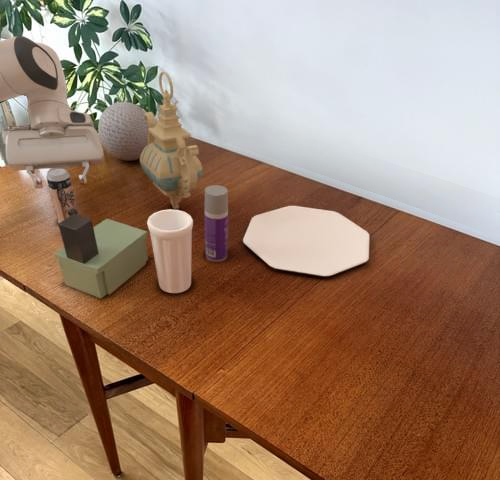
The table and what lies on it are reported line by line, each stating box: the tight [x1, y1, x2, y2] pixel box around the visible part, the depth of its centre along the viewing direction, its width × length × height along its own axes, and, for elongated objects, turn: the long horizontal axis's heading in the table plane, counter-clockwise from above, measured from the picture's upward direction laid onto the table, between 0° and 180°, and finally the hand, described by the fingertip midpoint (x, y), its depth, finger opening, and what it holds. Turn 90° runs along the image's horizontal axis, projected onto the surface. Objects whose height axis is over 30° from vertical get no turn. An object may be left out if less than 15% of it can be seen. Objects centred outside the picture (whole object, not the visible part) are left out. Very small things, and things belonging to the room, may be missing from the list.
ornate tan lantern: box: [139, 71, 204, 210], centre depth 103 cm, size 24×12×30 cm, turn 33°
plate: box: [242, 205, 371, 278], centre depth 104 cm, size 28×28×2 cm
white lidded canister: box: [46, 167, 80, 224], centre depth 103 cm, size 5×5×12 cm
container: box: [204, 184, 229, 263], centre depth 94 cm, size 5×5×15 cm
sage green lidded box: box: [53, 218, 149, 299], centre depth 91 cm, size 10×15×7 cm, turn 154°
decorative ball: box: [97, 101, 149, 162], centre depth 129 cm, size 15×15×15 cm
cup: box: [146, 208, 194, 294], centre depth 86 cm, size 8×8×14 cm
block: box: [58, 214, 99, 264], centre depth 83 cm, size 4×4×7 cm
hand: (61, 185), depth 102 cm, fingers open, 8 cm apart
